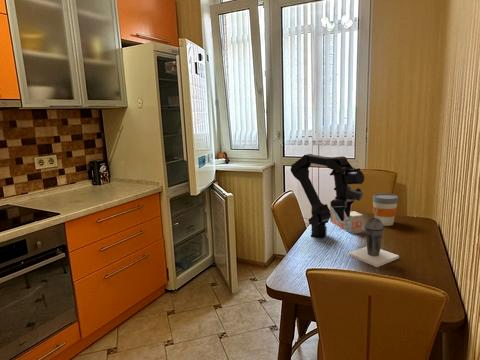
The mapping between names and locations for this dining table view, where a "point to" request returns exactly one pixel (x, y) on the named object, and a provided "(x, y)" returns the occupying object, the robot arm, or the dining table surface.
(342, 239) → the dining table surface
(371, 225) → the beverage cup
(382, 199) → the reusable coffee cup
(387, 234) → the dining table surface
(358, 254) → the board
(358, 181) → the robot arm
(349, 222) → the patterned box
